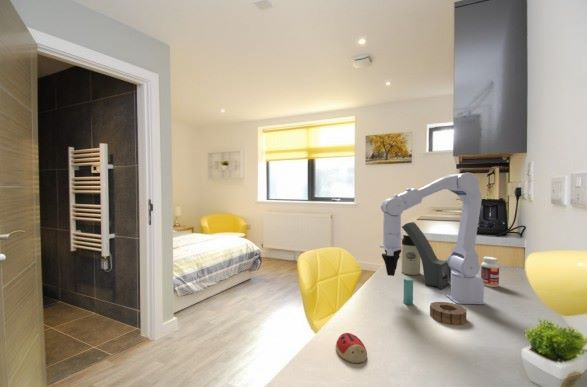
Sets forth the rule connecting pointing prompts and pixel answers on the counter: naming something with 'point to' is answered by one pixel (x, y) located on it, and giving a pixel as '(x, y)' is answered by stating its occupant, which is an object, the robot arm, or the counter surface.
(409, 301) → the capsule peg
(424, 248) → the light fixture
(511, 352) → the counter surface
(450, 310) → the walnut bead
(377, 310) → the counter surface
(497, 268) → the pill bottle
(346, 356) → the ladybug figurine
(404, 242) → the travel mug
